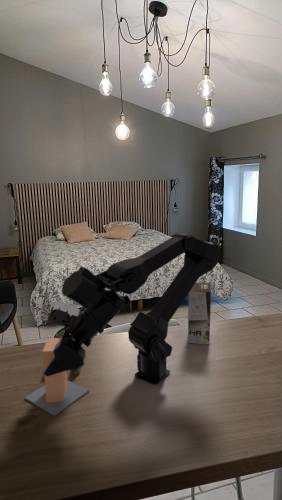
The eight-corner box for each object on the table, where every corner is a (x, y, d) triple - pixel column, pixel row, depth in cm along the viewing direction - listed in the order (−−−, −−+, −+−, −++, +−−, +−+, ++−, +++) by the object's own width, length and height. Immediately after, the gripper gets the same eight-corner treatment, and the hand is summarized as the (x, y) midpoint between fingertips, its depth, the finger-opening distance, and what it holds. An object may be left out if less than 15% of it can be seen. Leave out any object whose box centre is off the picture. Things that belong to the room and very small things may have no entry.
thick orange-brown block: (67, 385, 81) (64, 337, 79) (63, 401, 75) (59, 350, 73) (51, 386, 81) (48, 338, 79) (46, 402, 75) (42, 351, 73)
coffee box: (209, 345, 100) (211, 291, 97) (187, 343, 102) (187, 290, 98) (210, 331, 109) (211, 282, 106) (189, 330, 110) (189, 281, 107)
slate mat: (88, 391, 79) (88, 390, 79) (54, 416, 71) (54, 414, 71) (59, 377, 85) (59, 376, 85) (24, 398, 77) (24, 397, 77)
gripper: (75, 277, 83) (32, 322, 84) (61, 306, 64) (7, 362, 66) (110, 307, 84) (67, 351, 86) (106, 343, 66) (51, 397, 68)
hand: (50, 363), depth 77 cm, fingers open, 9 cm apart
